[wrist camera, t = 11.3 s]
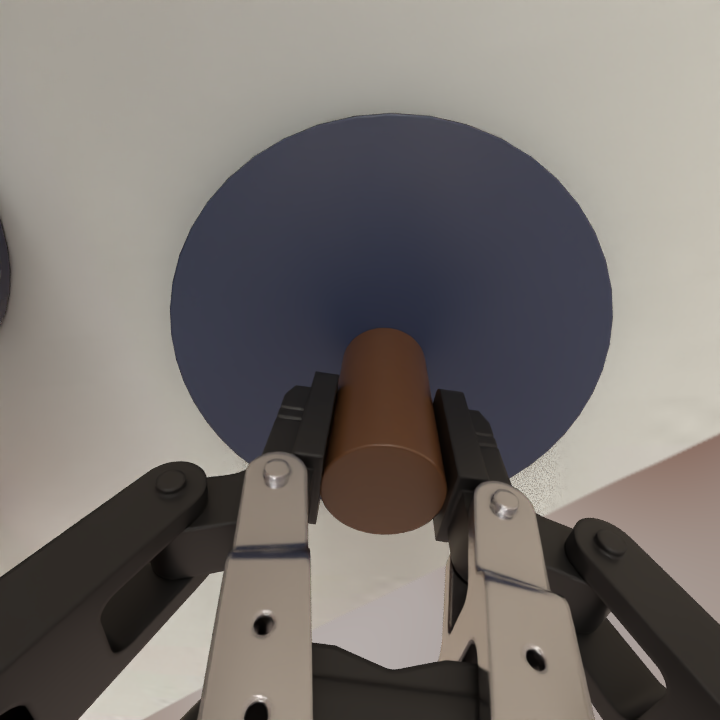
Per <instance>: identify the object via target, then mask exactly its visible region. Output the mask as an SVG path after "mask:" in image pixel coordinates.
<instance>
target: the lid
mask: <svg viewBox="0 0 720 720" xmlns="http://www.w3.org/2000/svg"><path fill="white" fill-rule="evenodd" d="M170 318H171V335H172V341H173V346H174V351H175V356H176V360H177V363H178V366H179V369H180V372H181V375H182V378H183V381H184V383H185V385H186V387H187V389H188V391H189V393H190V395H191V397H192V399H193V401H194V403H195V405H196V406H197V408H198V409H199V411H200V412H201V414H202V415H203V417H204V418H205V420H206V422H207V423H208V424H209V425H210V426H211V428H212V429H213V430H214V431H215V432H216V434H217V435H218V436H219V437H220V438H221V439H222V440H223V441H224V442H225V443H226V444H227V445H228V446H229V447H230V448H231V449H232V450H233V451H234V452H235V453H236V454H237V455H238V456H240V457H241V458H242V459H244V460H245V461H246V462H247V463H249V464H250V463H251V462H252V461H253V460H254V459H255V458H257V457H258V456H260V455H262V453H263V451H264V448H265V445H266V443H267V440H268V438H269V435H270V432H271V430H272V427H273V424H274V422H275V419H276V418H277V414H278V411H279V409H280V407H281V404H282V401H283V398H284V396H285V394H286V393H287V392H288V391H289V390H291V389H292V388H293V387H294V386H295V385H299V386H306V387H311V385H312V382H313V378H314V375H315V372H316V371H317V372H324V373H332V374H339V383H338V391H337V397H336V402H335V407H334V413H333V418H332V424H331V429H330V435H329V440H328V445H327V451H326V456H325V462H324V467H323V473H322V480H321V489H320V495H321V498H320V499H321V500H322V501H323V503H324V505H325V507H326V508H327V510H328V511H329V512H330V513H331V514H332V515H333V516H334V517H335V518H336V519H337V520H339V521H340V522H342V523H343V524H345V525H347V526H349V527H351V528H353V529H356V530H359V531H363V532H366V533H372V534H399V533H404V532H408V531H412V530H414V529H417V528H419V527H421V526H423V525H425V524H426V523H428V522H430V521H431V520H432V519H433V518H434V517H435V516H436V515H437V514H438V513H439V512H440V510H441V509H442V507H443V504H444V502H445V499H446V495H447V482H446V477H445V471H444V465H443V459H442V454H441V448H440V442H439V436H438V431H437V425H436V419H435V414H434V408H433V401H434V397H435V394H436V391H437V390H438V389H445V390H452V391H459V392H463V393H464V396H465V399H466V402H467V406H468V409H470V410H477V411H479V412H480V413H481V414H482V415H483V416H484V417H485V419H486V420H487V421H488V422H489V424H490V426H491V429H492V432H493V435H494V436H493V438H495V440H496V443H497V448H498V449H499V451H500V454H501V457H502V460H503V463H504V465H505V468H506V471H507V474H508V477H509V478H511V477H512V476H514V475H516V474H517V473H519V472H520V471H522V470H523V469H525V468H527V467H528V466H530V465H531V464H532V463H533V462H535V461H536V460H537V459H538V458H540V457H541V456H542V455H543V454H545V453H546V452H547V451H548V450H549V449H550V448H551V447H552V446H553V445H554V444H555V443H556V442H557V441H558V440H559V439H560V438H561V437H562V436H563V435H564V434H565V433H566V432H567V430H568V429H569V428H570V427H571V425H572V424H573V423H574V421H575V420H576V419H577V418H578V416H579V415H580V413H581V412H582V410H583V408H584V407H585V405H586V403H587V402H588V400H589V399H590V397H591V395H592V394H593V391H594V389H595V387H596V384H597V382H598V380H599V377H600V375H601V373H602V370H603V367H604V363H605V360H606V356H607V352H608V349H609V345H610V337H611V328H612V320H613V311H612V288H611V283H610V279H609V274H608V269H607V264H606V260H605V257H604V254H603V252H602V249H601V246H600V244H599V241H598V239H597V236H596V233H595V231H594V229H593V228H592V226H591V224H590V223H589V221H588V219H587V218H586V216H585V214H584V212H583V211H582V209H581V207H580V206H579V204H578V203H577V202H576V201H575V199H574V198H573V197H572V196H571V195H570V193H569V192H568V191H567V190H566V189H565V187H564V186H563V185H562V184H561V183H560V181H559V180H558V179H557V178H556V177H554V176H553V175H552V174H551V173H550V172H549V171H547V170H546V169H545V168H544V167H543V166H542V165H540V164H539V163H538V162H537V161H536V160H535V159H533V158H532V157H531V156H529V155H528V154H526V153H524V152H523V151H521V150H519V149H518V148H516V147H514V146H513V145H511V144H509V143H508V142H506V141H505V140H503V139H501V138H499V137H497V136H494V135H492V134H489V133H487V132H484V131H482V130H479V129H477V128H474V127H472V126H469V125H467V124H463V123H459V122H454V121H450V120H446V119H441V118H437V117H433V116H426V115H412V114H399V113H386V114H373V115H361V116H352V117H348V118H344V119H340V120H335V121H331V122H327V123H323V124H319V125H316V126H313V127H311V128H309V129H306V130H304V131H301V132H299V133H296V134H294V135H291V136H289V137H286V138H284V139H282V140H281V141H279V142H277V143H276V144H274V145H272V146H271V147H269V148H267V149H266V150H264V151H262V152H261V153H259V154H257V155H256V156H254V157H253V158H252V159H251V160H249V161H248V162H247V163H246V164H245V165H243V166H242V167H241V168H240V169H239V170H237V171H236V172H235V173H234V174H233V175H231V176H230V177H229V178H228V179H227V180H226V181H225V182H224V184H223V185H222V186H221V187H220V188H219V189H218V190H217V192H216V193H215V194H214V195H213V196H212V197H211V198H210V200H209V201H208V202H207V203H206V205H205V207H204V208H203V210H202V211H201V213H200V215H199V216H198V218H197V219H196V221H195V222H194V224H193V226H192V227H191V229H190V232H189V234H188V236H187V239H186V241H185V243H184V246H183V248H182V250H181V253H180V255H179V259H178V263H177V267H176V271H175V275H174V279H173V284H172V294H171V304H170Z"/></svg>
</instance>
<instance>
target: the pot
mask: <svg viewBox="0 0 720 720" xmlns="http://www.w3.org/2000/svg"><path fill="white" fill-rule="evenodd" d="M9 294H10V265H9V257H8V248H7V244H6V240H5V236H4V232H3V228H2V224H1V220H0V324H1V322H2V320H3V317H4V315H5V313H6V308H7V303H8V299H9Z"/></svg>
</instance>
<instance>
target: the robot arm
mask: <svg viewBox="0 0 720 720" xmlns="http://www.w3.org/2000/svg"><path fill="white" fill-rule="evenodd" d="M338 383H339V374H332V373H324V372H317V371H316V372H315V375H314V378H313V382H312V385H311V387H306V386H299V385H295V386H294V387H293V388H292V389H291V390H289V391H288V392H287V393H286V394H285V396H284V398H283V401H282V404H281V407H280V409H279V411H278V414H277V418H276V419H275V422H274V424H273V427H272V430H271V432H270V435H269V438H268V440H267V443H266V445H265V448H264V451H263V453H262V455H260V456H258V457H257V458H255V459H254V460H253V461H252V462H251V463H250V464H249V465H248V467H247V469H246V470H244V471H241V472H239V473H235V474H231V475H224V476H216V477H208V478H207V477H206V474H205V472H204V471H203V469H202V468H200V467H199V466H198V465H195V464H193V463H190V462H183V461H179V462H170V463H166V464H163V465H160V466H158V467H155V468H153V469H152V470H150V471H149V472H147V473H146V474H144V475H143V476H142V477H140V478H139V479H137V480H136V481H135V482H133V483H132V484H130V485H129V486H128V487H126V488H125V489H123V490H122V491H121V492H119V493H118V494H116V495H115V496H114V497H112V498H111V499H109V500H108V501H106V502H105V503H104V504H102V505H101V506H99V507H98V508H97V509H95V510H94V511H92V512H91V513H90V514H88V515H87V516H85V517H84V518H83V519H81V520H80V521H78V522H77V523H76V524H74V525H73V526H71V527H70V528H69V529H67V530H66V531H64V532H63V533H62V534H60V535H59V536H57V537H56V538H55V539H53V540H52V541H50V542H49V543H48V544H46V545H45V546H43V547H42V548H41V549H39V550H38V551H36V552H35V553H34V554H32V555H31V556H29V557H28V558H26V559H25V560H24V561H22V562H21V563H19V564H18V565H17V566H15V567H14V568H12V569H11V570H10V571H8V572H7V573H5V574H4V575H3V576H1V577H0V720H78V719H79V718H80V717H81V716H82V715H83V713H84V712H85V711H86V710H87V709H88V708H89V707H90V706H91V705H92V704H93V702H94V701H95V700H96V699H97V698H98V697H99V696H100V695H101V694H102V692H103V691H104V690H105V689H106V688H107V687H108V686H109V685H110V684H111V683H112V681H113V680H114V679H115V678H116V677H117V676H118V675H119V674H120V673H121V671H122V670H123V669H124V668H125V667H126V666H127V665H128V664H129V663H130V662H131V660H132V659H133V658H134V657H135V656H136V655H137V654H138V653H139V652H140V651H141V649H142V648H143V647H144V646H145V645H146V644H147V643H148V642H149V641H150V639H151V638H152V637H153V636H154V635H155V634H156V633H157V632H158V631H159V630H160V628H161V627H162V626H163V625H164V624H165V623H166V622H167V621H168V620H169V618H170V617H171V616H172V615H173V614H174V613H175V612H176V611H177V610H178V609H179V607H180V606H181V605H182V604H183V603H184V602H185V601H186V600H187V599H188V597H189V596H190V595H191V594H192V593H193V592H194V591H195V590H196V589H197V588H198V586H199V585H200V584H201V583H202V582H203V581H204V580H205V579H206V577H207V576H208V575H209V574H211V573H216V572H221V571H224V573H223V578H222V584H221V589H220V595H219V601H218V606H217V612H216V617H215V623H214V629H213V634H212V640H211V645H210V651H209V657H208V662H207V668H206V673H205V679H204V685H203V690H202V696H201V699H200V700H199V701H198V702H197V703H196V704H195V705H194V706H193V707H192V708H191V709H190V710H189V711H188V712H187V713H186V714H185V715H184V716H183V717H182V718H181V719H180V720H595V717H594V713H593V708H592V704H593V706H594V707H595V708H596V710H597V712H598V713H599V715H600V716H601V717H602V719H603V720H720V624H718V623H717V622H716V621H715V620H714V619H713V618H712V617H711V616H710V615H709V614H708V613H707V612H706V611H705V610H704V609H703V608H702V607H701V606H700V605H699V604H698V603H697V602H696V601H695V600H694V599H693V598H692V597H691V596H690V595H689V594H688V593H687V592H686V591H685V590H684V589H683V588H682V587H681V586H680V585H679V584H677V583H676V582H675V581H674V580H673V579H672V578H671V577H670V576H669V575H668V574H667V573H666V572H665V571H664V570H663V569H662V568H661V567H660V566H659V565H658V564H657V563H656V562H655V561H654V560H653V559H652V558H651V557H650V556H649V555H648V554H646V552H645V551H644V550H642V548H640V546H638V544H636V542H634V541H633V540H632V539H631V538H630V537H629V536H628V535H627V534H626V533H625V532H623V531H622V530H621V529H619V528H617V527H616V526H614V525H612V524H610V523H608V522H606V521H603V520H600V519H595V518H585V519H581V520H579V521H578V522H577V523H576V525H575V526H574V528H573V529H572V528H570V527H567V526H565V525H562V524H559V523H557V522H554V521H552V520H549V519H547V518H545V517H542V516H540V515H539V514H537V513H535V510H534V507H533V505H532V503H531V502H530V500H529V499H528V498H527V497H526V496H525V495H524V494H523V493H522V492H521V491H519V490H518V489H517V488H515V487H513V486H512V485H511V482H510V479H509V477H508V474H507V471H506V468H505V465H504V463H503V460H502V457H501V454H500V451H499V449H498V448H497V443H496V440H495V438H493V436H494V435H493V432H492V429H491V426H490V424H489V422H488V421H487V420H486V419H485V417H484V416H483V415H482V414H481V413H480V412H479V411H477V410H470V409H468V406H467V402H466V399H465V396H464V393H463V392H459V391H452V390H445V389H438V390H437V391H436V394H435V397H434V401H433V408H434V414H435V419H436V425H437V431H438V436H439V442H440V448H441V454H442V459H443V465H444V471H445V477H446V482H447V495H446V499H445V502H444V504H443V507H442V509H441V510H440V512H439V513H438V514H437V515H436V516H435V517H434V518H433V523H434V531H435V539H436V541H442V542H449V548H450V555H449V558H448V560H447V563H446V570H445V591H444V592H445V593H444V613H443V634H442V645H441V651H440V656H439V660H438V662H433V663H428V664H423V665H417V666H412V667H408V668H402V669H396V670H392V669H387V668H385V667H382V666H380V665H378V664H376V663H373V662H371V661H369V660H366V659H364V658H362V657H360V656H357V655H355V654H353V653H351V652H348V651H346V650H344V649H342V648H340V647H337V646H335V645H326V644H319V643H312V628H311V561H310V549H309V548H308V523H310V524H316V521H317V515H318V509H319V504H320V498H321V495H320V489H321V480H322V473H323V467H324V462H325V456H326V451H327V445H328V440H329V435H330V429H331V424H332V418H333V413H334V407H335V402H336V397H337V391H338ZM610 612H612V613H613V614H614V615H615V617H616V618H617V619H618V620H619V621H620V623H621V624H622V625H623V626H624V627H625V629H626V630H627V631H628V632H629V633H630V635H631V636H632V637H633V638H634V639H635V640H636V641H637V643H638V644H639V645H640V646H641V648H642V649H643V650H644V651H645V652H646V654H647V655H648V656H649V657H650V658H651V660H652V661H653V662H654V663H655V664H656V666H657V667H658V668H659V670H660V671H661V673H662V675H663V677H664V680H665V683H666V688H665V687H664V686H663V685H662V684H660V682H659V681H658V680H657V679H656V678H655V676H654V675H653V674H652V673H651V672H650V670H649V669H648V668H647V667H646V665H645V664H644V663H643V662H642V661H641V660H640V658H639V657H638V656H637V654H636V653H635V652H634V651H633V650H632V648H631V647H630V646H629V645H628V643H627V642H626V641H625V640H624V639H623V637H622V636H621V635H620V634H619V632H618V631H617V630H616V629H615V628H614V626H613V625H612V624H611V623H610V621H609V620H608V619H607V618H606V617H607V616H608V614H609V613H610ZM591 703H592V704H591Z"/></svg>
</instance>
